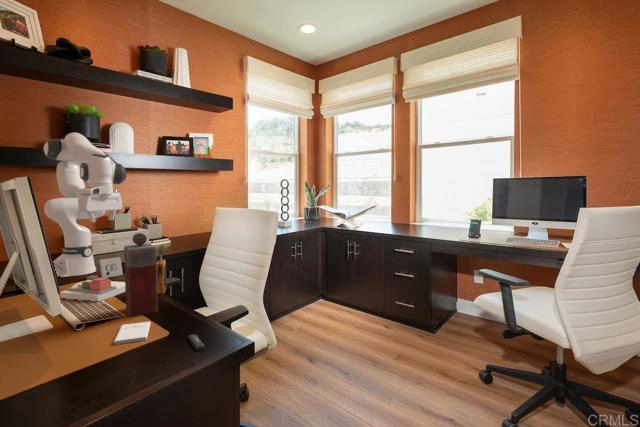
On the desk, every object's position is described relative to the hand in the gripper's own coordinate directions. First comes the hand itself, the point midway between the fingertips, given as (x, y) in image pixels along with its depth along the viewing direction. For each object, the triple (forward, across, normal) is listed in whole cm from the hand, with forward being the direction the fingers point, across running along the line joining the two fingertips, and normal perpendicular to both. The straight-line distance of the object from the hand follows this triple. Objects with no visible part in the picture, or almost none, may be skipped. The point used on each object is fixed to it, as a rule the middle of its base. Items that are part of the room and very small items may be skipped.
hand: (102, 220), depth 151 cm
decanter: (+29, +24, +40) cm, 55 cm away
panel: (+29, +12, +9) cm, 33 cm away
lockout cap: (+26, +16, +14) cm, 34 cm away
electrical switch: (+29, -12, -9) cm, 33 cm away
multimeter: (+29, +6, +30) cm, 42 cm away
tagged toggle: (+27, +16, +8) cm, 32 cm away
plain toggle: (+27, +9, +4) cm, 28 cm away
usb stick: (+30, +44, +75) cm, 92 cm away
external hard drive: (+30, +42, +53) cm, 74 cm away
